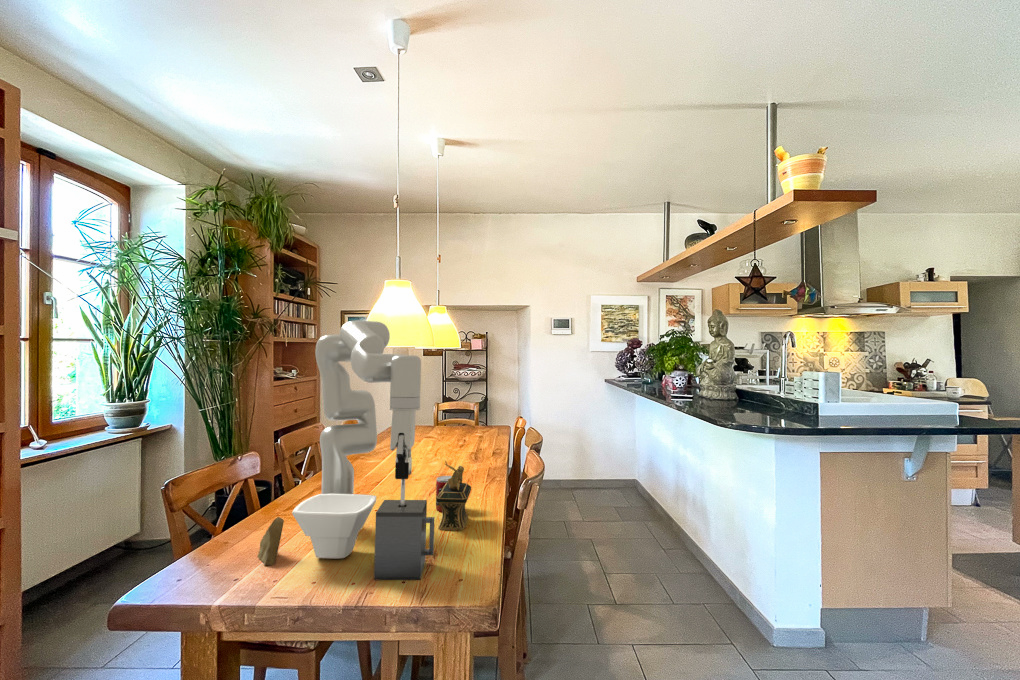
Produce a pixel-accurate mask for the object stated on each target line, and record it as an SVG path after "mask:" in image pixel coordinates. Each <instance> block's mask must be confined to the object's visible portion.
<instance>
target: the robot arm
mask: <svg viewBox="0 0 1020 680" xmlns="http://www.w3.org/2000/svg"><path fill="white" fill-rule="evenodd" d="M389 343H390V330H389V329H388V327H387V325H386V324H385V323H383V322H380V321H374V320H373V321H369V320H350V321H346V323H344V324H343V325H342V326H341V328H340V330H339V334H326V335H323V336H320V338H319V339H318V340H317V342H316V345H315V359H316V360H315V361H316V364H317V367H318V370H319V374H320V377H321V393H322V406H323V414H324V417H325V419H327V420H328V421H333V422H334V421H340V422H341V421H355V420H356V421H357V423H352V424H351V423H347V424H346V423H345V424H335V425H331V426H327V427H326V428H324V429H323V430H322V431H321V432H320V436H319V446H320V452H321V493H320V494H354V483H355V470H354V466H353V464H352V463H351V461H350V460H349V459H348V457H347V456H351V455H359V454H367V453H368V454H369V453H370V452H372V451H374V449H376V446H377V442H378V430H377V415H376V405H375V400H374V396H373V394H371V392H369V391H367V390H363V389H356V390H353V389H351V379H350V375H349V372H348V371H347V369H346V368H345V367H344V366H343V364H341V363H340V362H346V363H347V362H349V363H350V365H351V369H352V372H353V373H354V374H355V376H357V377H358V378H359V379H360V380H362V381H363V382H366V383H371V384H372V383H390V386H389V387H390V389H389V393H390V395H389V410H390V411H392V416H391V429H390V443H389V444H390V445H389V448H390V451H395V450H396V452H395V453H396V456H395V467H394V468H395V469H394V471H395V474H394V478H395V480H401V479H405V480H408V479H409V478H410V477H409V476H410V475H409V462H408V457H412V447H414V445H415V439H416V411H420V410H421V384H422V383H421V382H422V380H421V379H422V376H421V375H422V360H421V358H420V357H419V356H418V355H413V354H403V353H402V354H399V353H384V351H385V349H386V347H387V346H388V344H389Z"/></svg>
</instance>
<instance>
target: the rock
mask: <svg viewBox="0 0 1020 680" xmlns="http://www.w3.org/2000/svg"><path fill="white" fill-rule="evenodd" d="M284 521H285V519H283V518H282V517H279V516H277V517H276V518H275V519H273V520H272V523H271V524H270V525H269V526H268V527H267V530H266V531H265V533H264V534H263V536H262V538H261V540H260V542H259V543H260V544H259V550H258V553H257V558H258V559H259V560H260V561H261V562H262V563H263V565H265V566H273V565H275V563H276V560H277V557H278V552H279V547H280V543H281V542H280V541H281V538H282V532H283V527H284Z"/></svg>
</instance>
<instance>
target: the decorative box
mask: <svg viewBox="0 0 1020 680" xmlns="http://www.w3.org/2000/svg"><path fill="white" fill-rule="evenodd" d="M444 461H445V466H446V467H448V468H449V469H450V470H453V471H454V472H453V473H452V475H451V476H452V477H451V478H450V479H448V481H447V482H448V483H446V484H445V485H444V486H443V488H442V489H441V491H440V492H439V494H438V496H437V498H436V497H435V503H436V502H437V503H438V504H439V505H440V506H441V508H442V512H441V513H442V517H441V521H440V523H439V525H438V528H437V529H439V530H440V531H441V530H442V531H464V530H465V529H466V525H467V523H468V519H469V515H468V513H467V510H466V503H467V502H468V500H469V496H470V494H471V491H472V486H471V485H470V484H469V483H467V482H463V479H464V477H463V474H464V472H465V471H464V470H465V467H464V466H462V465H459V466H458V467H457V469H455V467H453V466H451V465H449V464H448V462H447V461H446V460H444Z"/></svg>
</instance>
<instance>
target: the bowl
mask: <svg viewBox="0 0 1020 680" xmlns="http://www.w3.org/2000/svg"><path fill="white" fill-rule="evenodd" d="M376 502H377V496H376V495H373V494H364V493H363V494H360V493H359V494H357V493H353V494H321V493H319V494H316V495H313V496H311V497H309V498H307V499H305V500H302V501H301V502H300V503H299V504H297V505H296V506H295V507H294V509H293V510H292V512H291V514H292V516H293V517H294V519H295V521H296V522H297V524H298V526H299V528H300V529H301V530H302V531H303V533H304V535H305V536H307V537H309V538H310V541H311V543H312V547H313V552H314V555H315V558H318V559H319V558H320V559H344V558H346V557H348V556H350V554H351V553H352V552H353V550H354V548H355V544H356V542H357V537H358V535H359V532H360V531H361V530H362V528H363V527H364V525H365V524H366V521H367V519H368V518H369V516H370V515H371V512H372V510H373V508H374V506H375V504H376Z"/></svg>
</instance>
